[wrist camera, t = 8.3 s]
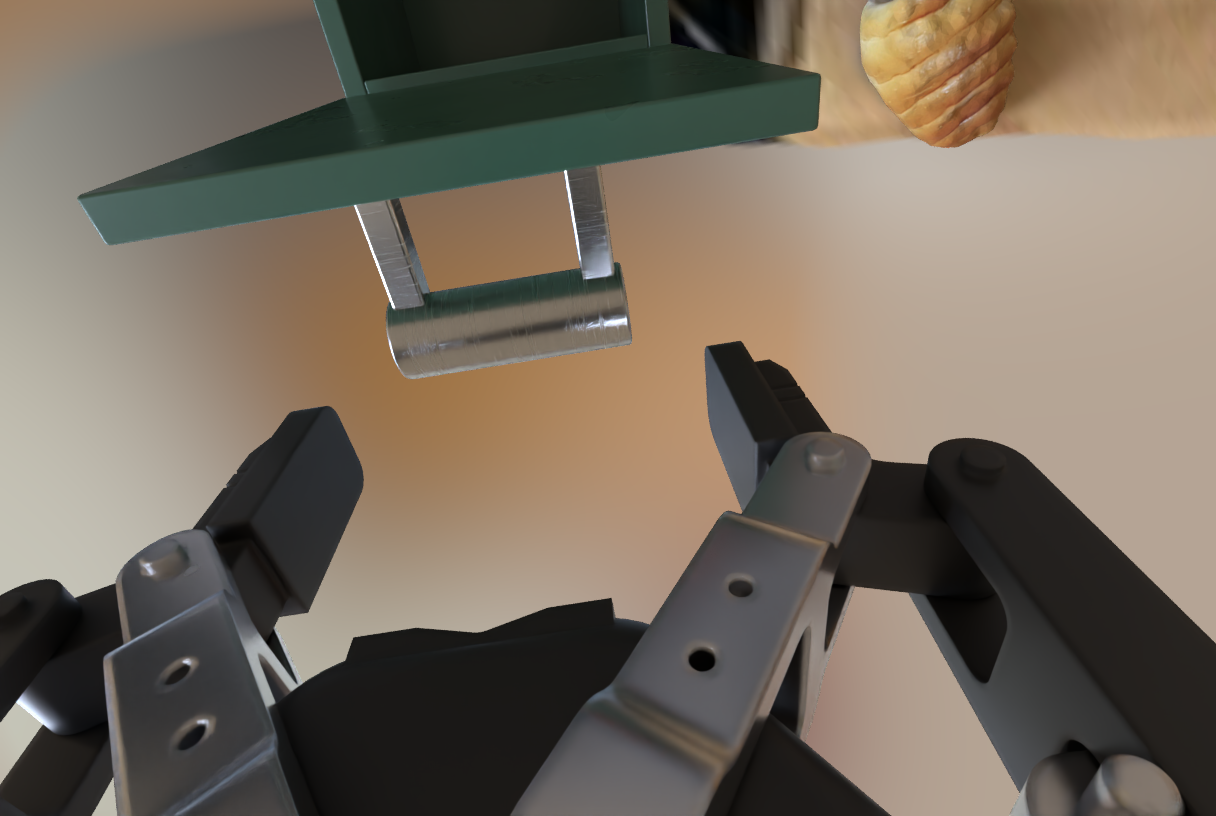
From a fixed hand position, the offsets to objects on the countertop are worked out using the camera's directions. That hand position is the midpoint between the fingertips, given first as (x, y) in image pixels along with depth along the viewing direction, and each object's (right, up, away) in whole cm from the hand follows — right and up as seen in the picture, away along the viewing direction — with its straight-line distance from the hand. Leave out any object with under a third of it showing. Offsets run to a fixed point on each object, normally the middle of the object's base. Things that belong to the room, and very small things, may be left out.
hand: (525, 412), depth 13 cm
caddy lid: (-1, +8, +2) cm, 8 cm away
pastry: (+19, +19, +18) cm, 32 cm away
